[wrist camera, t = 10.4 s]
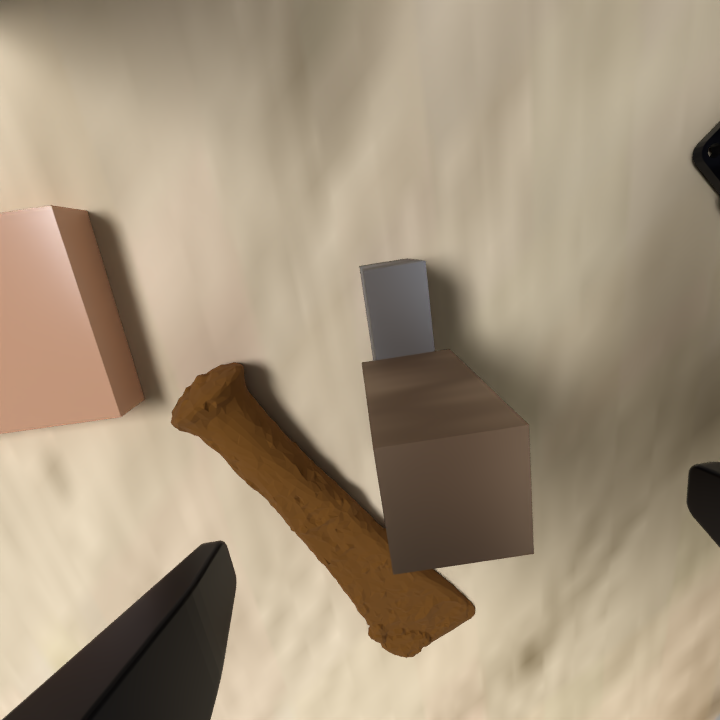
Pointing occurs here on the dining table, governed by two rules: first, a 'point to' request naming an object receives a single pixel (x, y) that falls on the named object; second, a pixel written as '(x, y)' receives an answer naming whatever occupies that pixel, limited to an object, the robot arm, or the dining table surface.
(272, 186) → the dining table surface
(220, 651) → the robot arm
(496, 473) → the two-tone stacked blocks
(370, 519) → the primitive tool
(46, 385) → the tan block
